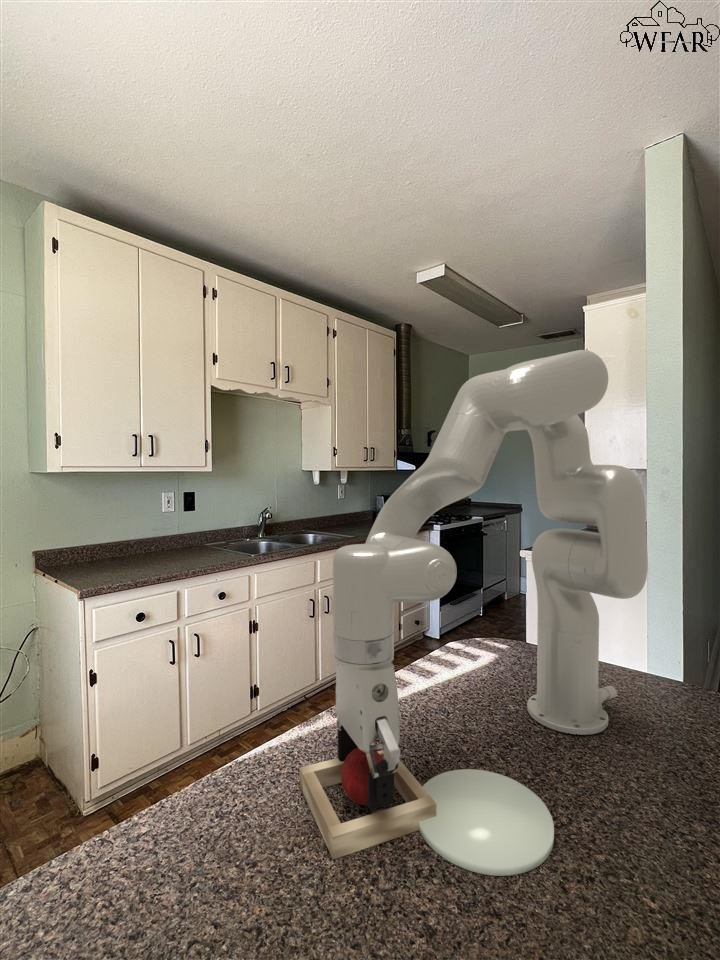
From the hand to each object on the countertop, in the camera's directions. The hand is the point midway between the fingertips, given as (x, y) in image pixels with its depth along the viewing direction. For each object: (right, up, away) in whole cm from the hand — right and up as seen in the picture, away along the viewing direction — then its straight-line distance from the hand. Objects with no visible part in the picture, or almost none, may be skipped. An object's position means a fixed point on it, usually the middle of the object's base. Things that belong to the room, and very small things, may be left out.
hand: (364, 779), depth 61 cm
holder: (0, -3, 0) cm, 3 cm away
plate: (+14, -3, -3) cm, 15 cm away
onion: (0, -3, 0) cm, 3 cm away
